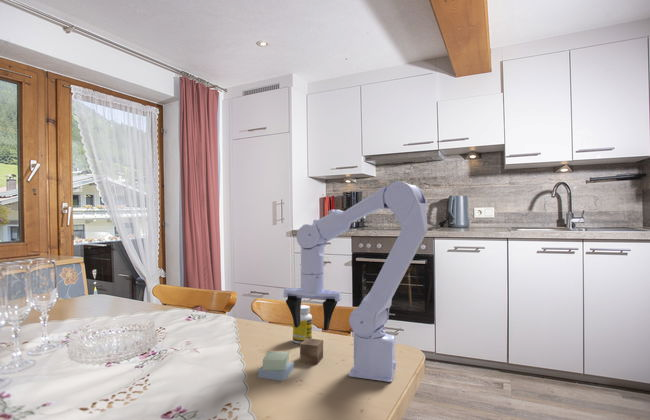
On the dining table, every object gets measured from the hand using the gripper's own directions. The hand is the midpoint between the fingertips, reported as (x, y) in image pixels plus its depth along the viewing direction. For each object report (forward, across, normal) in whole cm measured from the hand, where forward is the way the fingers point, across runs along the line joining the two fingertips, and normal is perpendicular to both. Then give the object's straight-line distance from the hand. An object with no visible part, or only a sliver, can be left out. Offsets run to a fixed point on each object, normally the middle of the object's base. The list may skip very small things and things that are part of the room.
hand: (311, 327), depth 92 cm
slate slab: (+8, +5, +10) cm, 14 cm away
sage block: (+6, +5, +10) cm, 13 cm away
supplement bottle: (+8, +7, -12) cm, 16 cm away
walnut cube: (+8, 0, 0) cm, 8 cm away
